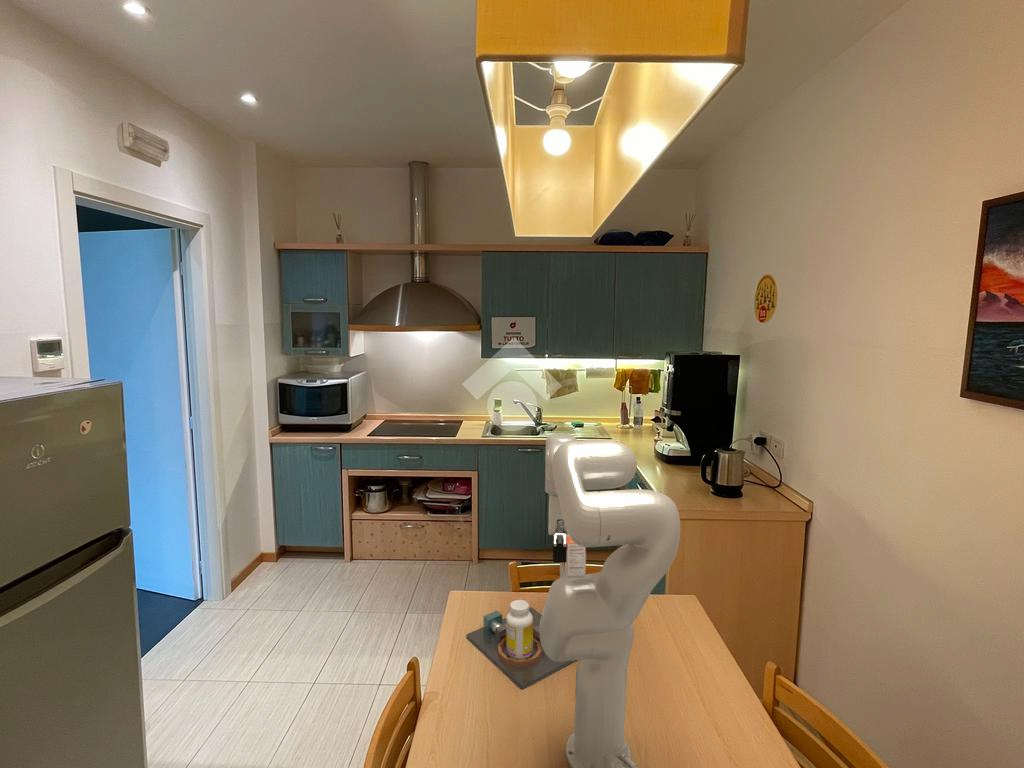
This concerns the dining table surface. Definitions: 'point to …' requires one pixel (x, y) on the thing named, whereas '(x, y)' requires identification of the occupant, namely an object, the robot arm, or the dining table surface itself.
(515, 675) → the base
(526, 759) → the dining table surface
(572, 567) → the cracker box
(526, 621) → the supplement bottle
